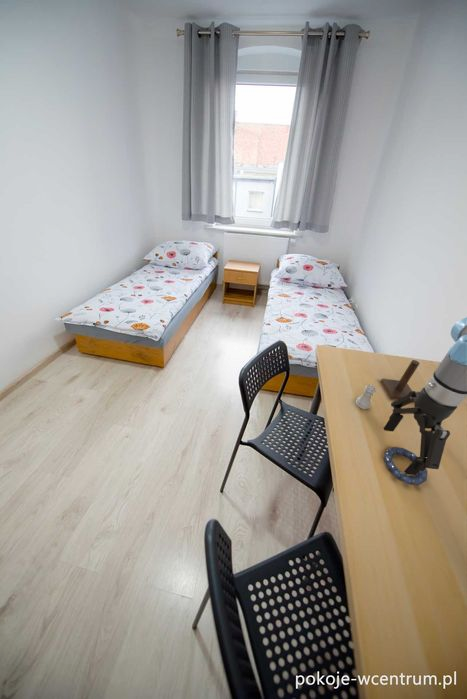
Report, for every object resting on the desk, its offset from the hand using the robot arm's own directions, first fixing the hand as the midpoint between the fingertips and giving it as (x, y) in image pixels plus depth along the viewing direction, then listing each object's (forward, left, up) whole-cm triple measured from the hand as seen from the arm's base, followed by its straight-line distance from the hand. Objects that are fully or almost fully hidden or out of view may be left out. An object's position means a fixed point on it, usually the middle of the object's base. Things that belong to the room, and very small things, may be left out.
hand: (398, 450), depth 77 cm
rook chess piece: (+4, -18, -2) cm, 18 cm away
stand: (-12, -27, -2) cm, 30 cm away
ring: (0, +4, -1) cm, 4 cm away
